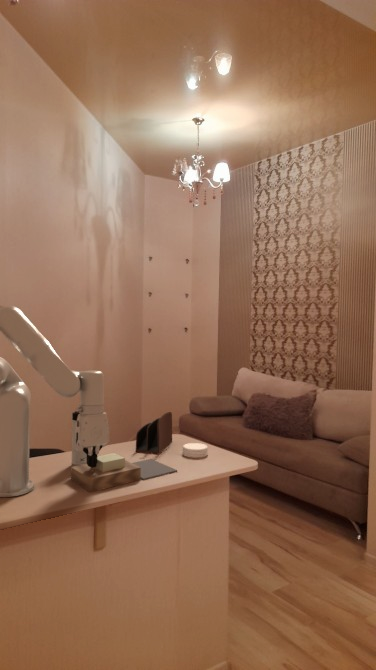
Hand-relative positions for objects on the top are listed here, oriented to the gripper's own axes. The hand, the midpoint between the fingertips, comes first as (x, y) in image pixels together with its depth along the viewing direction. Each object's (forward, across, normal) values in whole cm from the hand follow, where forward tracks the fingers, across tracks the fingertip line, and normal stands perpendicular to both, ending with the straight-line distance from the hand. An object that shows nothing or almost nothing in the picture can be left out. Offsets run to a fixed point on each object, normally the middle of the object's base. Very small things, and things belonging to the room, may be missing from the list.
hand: (92, 466), depth 142 cm
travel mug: (+6, +5, +18) cm, 20 cm away
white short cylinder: (+6, +47, +4) cm, 48 cm away
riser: (+5, +5, 0) cm, 7 cm away
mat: (+6, +22, 0) cm, 22 cm away
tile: (0, +6, 0) cm, 6 cm away
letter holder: (+6, +40, +22) cm, 46 cm away
